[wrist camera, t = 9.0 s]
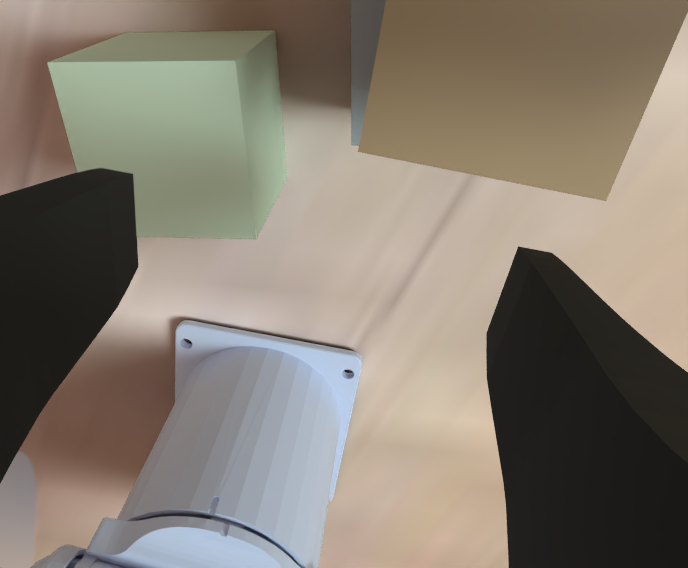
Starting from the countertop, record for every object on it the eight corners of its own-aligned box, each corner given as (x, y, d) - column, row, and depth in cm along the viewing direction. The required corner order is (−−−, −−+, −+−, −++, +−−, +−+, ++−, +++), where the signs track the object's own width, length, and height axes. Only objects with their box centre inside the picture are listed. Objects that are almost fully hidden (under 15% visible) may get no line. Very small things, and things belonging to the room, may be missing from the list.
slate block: (573, 111, 20) (606, 150, 16) (362, 108, 20) (351, 145, 17) (621, -150, 16) (677, -170, 13) (363, -144, 17) (349, -161, 13)
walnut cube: (557, 128, 16) (606, 201, 12) (374, 92, 16) (358, 151, 12) (634, -88, 13) (733, -95, 9) (416, -130, 13) (414, -157, 9)
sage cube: (287, 177, 22) (256, 239, 17) (155, 175, 22) (94, 235, 18) (275, 30, 19) (235, 60, 15) (126, 31, 20) (47, 62, 15)
